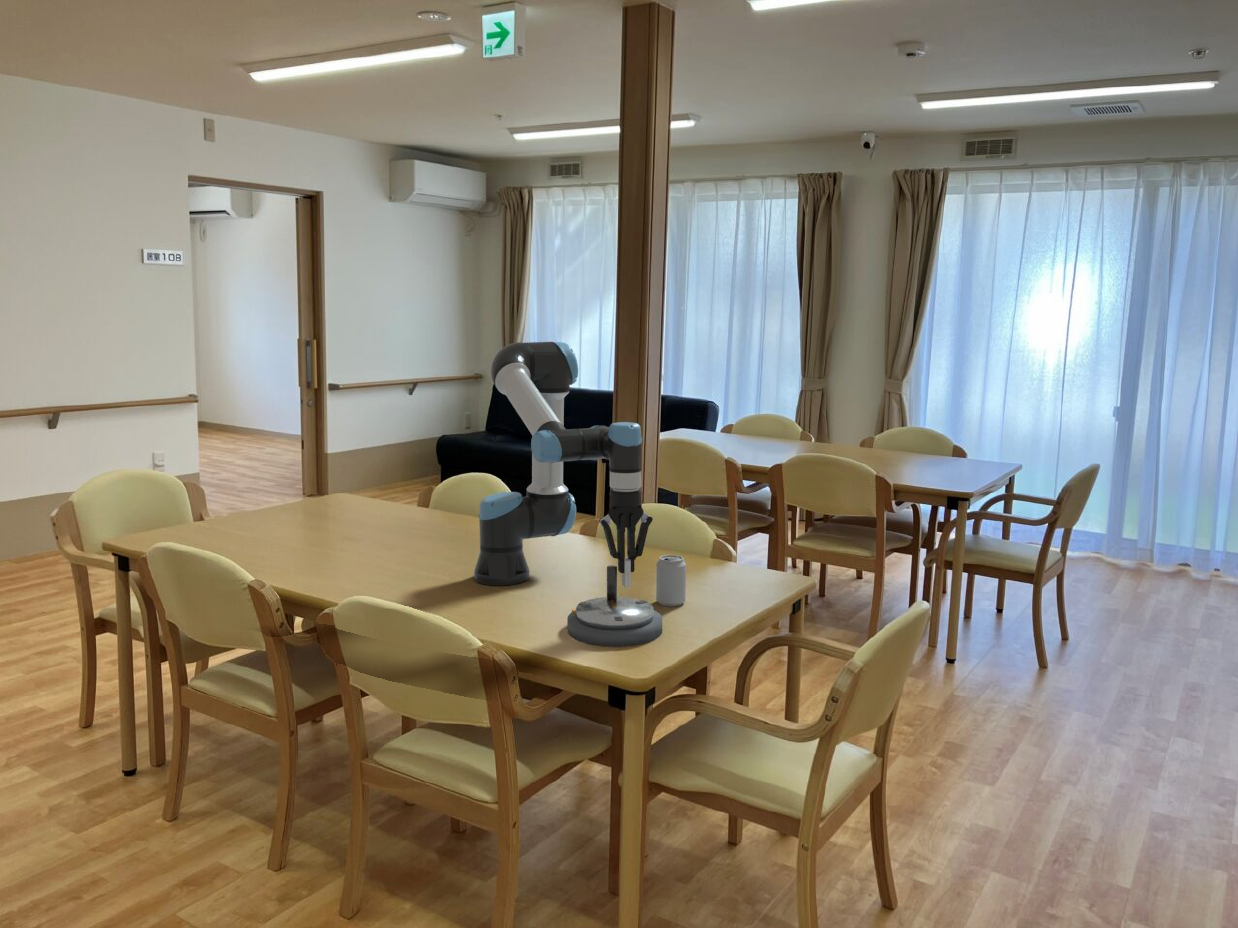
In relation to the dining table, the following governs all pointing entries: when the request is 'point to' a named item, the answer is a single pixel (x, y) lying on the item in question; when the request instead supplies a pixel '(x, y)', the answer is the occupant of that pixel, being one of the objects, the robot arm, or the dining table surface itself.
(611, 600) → the peg stand
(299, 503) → the dining table surface
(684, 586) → the can
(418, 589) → the dining table surface
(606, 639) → the base
